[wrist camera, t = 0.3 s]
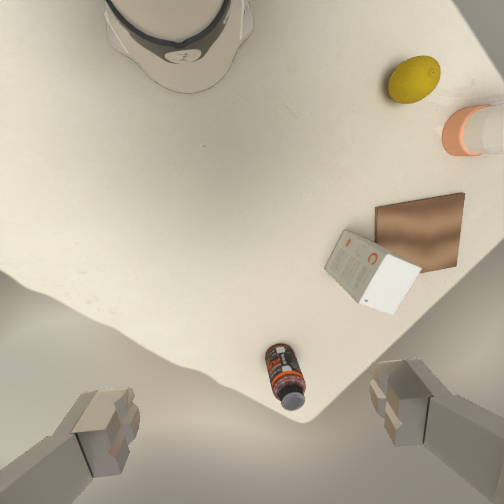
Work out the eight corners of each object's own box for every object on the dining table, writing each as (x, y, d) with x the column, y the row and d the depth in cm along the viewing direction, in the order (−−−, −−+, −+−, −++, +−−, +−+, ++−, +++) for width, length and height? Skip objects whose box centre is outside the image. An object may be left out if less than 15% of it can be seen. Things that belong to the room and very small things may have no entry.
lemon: (417, 72, 42) (461, 54, 34) (403, 111, 44) (442, 102, 36) (385, 61, 41) (423, 40, 33) (372, 102, 43) (405, 91, 35)
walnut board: (375, 207, 48) (377, 208, 47) (461, 192, 49) (465, 193, 48) (374, 279, 53) (376, 281, 52) (453, 264, 54) (456, 266, 53)
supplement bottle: (271, 339, 55) (284, 384, 44) (298, 346, 56) (317, 391, 45) (260, 363, 56) (270, 412, 46) (286, 369, 58) (302, 418, 47)
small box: (352, 279, 52) (393, 317, 40) (323, 268, 51) (357, 304, 39) (373, 240, 50) (424, 268, 38) (344, 228, 49) (386, 252, 37)
